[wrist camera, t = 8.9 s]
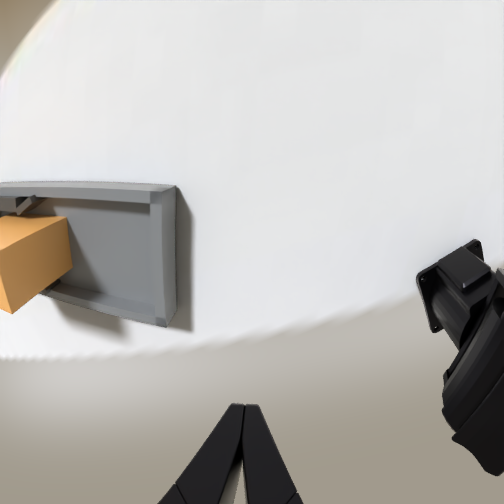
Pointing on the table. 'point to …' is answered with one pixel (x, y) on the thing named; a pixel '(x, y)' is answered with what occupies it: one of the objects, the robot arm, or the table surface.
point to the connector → (31, 256)
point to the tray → (109, 243)
